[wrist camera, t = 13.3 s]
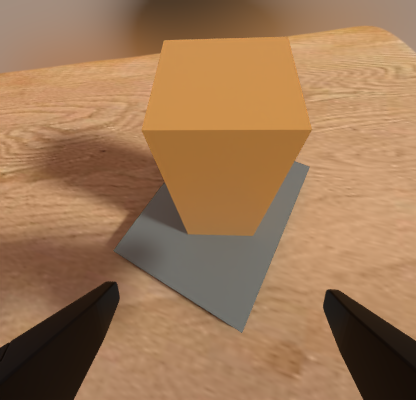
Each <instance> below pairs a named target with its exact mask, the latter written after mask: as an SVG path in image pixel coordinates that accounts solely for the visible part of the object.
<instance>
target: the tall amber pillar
mask: <svg viewBox="0 0 416 400" xmlns="http://www.w3.org/2000/svg"><path fill="white" fill-rule="evenodd" d="M311 130H312V128H311V124H310V121H309V117H308V113H307V109H306V105H305V101H304V97H303V93H302V90H301V86H300V82H299V78H298V74H297V70H296V66H295V62H294V59H293V55H292V51H291V47H290V43H289V39H288V37H266V38H265V37H263V38H231V39H194V40H164V43H163V47H162V51H161V55H160V59H159V63H158V67H157V71H156V75H155V79H154V83H153V87H152V91H151V95H150V99H149V103H148V107H147V111H146V115H145V119H144V123H143V127H142V132H143V135H144V137H145V139H146V141H147V143H148V146H149V148H150V150H151V152H152V155H153V157H154V159H155V161H156V164H157V166H158V168H159V170H160V173H161V175H162V177H163V179H164V181H165V184H166V186H167V188H168V190H169V193H170V195H171V197H172V199H173V202H174V204H175V206H176V208H177V211H178V213H179V215H180V217H181V219H182V222H183V224H184V226H185V228H186V231H187V233H188V234H195V235H235V236H253V235H254V233H255V232H256V230H257V228H258V226H259V224H260V223H261V221H262V219H263V217H264V215H265V214H266V212H267V210H268V208H269V206H270V204H271V203H272V201H273V199H274V197H275V195H276V194H277V192H278V190H279V188H280V186H281V185H282V183H283V181H284V179H285V177H286V176H287V174H288V172H289V170H290V168H291V167H292V165H293V163H294V161H295V159H296V157H297V156H298V154H299V152H300V150H301V148H302V147H303V145H304V143H305V141H306V139H307V138H308V136H309V134H310V132H311Z"/></svg>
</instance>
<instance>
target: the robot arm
mask: <svg viewBox="0 0 416 400" xmlns="http://www.w3.org/2000/svg"><path fill="white" fill-rule="evenodd" d="M118 303H119V291H118V285H117V283H116V282H111V281H108V282H105V283H103V284H102V285H100V286H99V287H97V288H95V289H94V290H92V291H91V292H89V293H87V294H86V295H84V296H83V297H81V298H79V299H78V300H76V301H75V302H73V303H71V304H70V305H68V306H66V307H65V308H63V309H62V310H60V311H58V312H57V313H55V314H54V315H52V316H50V317H49V318H47V319H46V320H44V321H42V322H41V323H39V324H38V325H36V326H34V327H33V328H31V329H30V330H28V331H26V332H25V333H23V334H22V335H20V336H18V337H17V338H15V339H13V340H12V341H11V342H10V343H7V344H5V345H4V346H2V347H1V348H0V400H74V398H75V396H76V394H77V392H78V390H79V388H80V386H81V384H82V382H83V380H84V378H85V376H86V374H87V372H88V370H89V368H90V366H91V364H92V362H93V360H94V358H95V356H96V354H97V352H98V350H99V348H100V346H101V344H102V342H103V340H104V338H105V336H106V333H107V331H108V328H109V326H110V323H111V321H112V318H113V316H114V313H115V310H116V308H117V305H118ZM323 309H324V312H325V315H326V317H327V320H328V323H329V325H330V328H331V330H332V333H333V336H334V338H335V341H336V343H337V346H338V348H339V351H340V353H341V355H342V357H343V359H344V361H345V363H346V365H347V367H348V369H349V371H350V373H351V376H352V378H353V380H354V382H355V384H356V386H357V388H358V390H359V392H360V394H361V396H362V398H363V400H416V341H415V340H414V339H412V338H411V337H409V336H408V335H406V334H405V333H403V332H402V331H400V330H399V329H397V328H396V327H394V326H392V325H391V324H389V323H388V322H386V321H385V320H383V319H382V318H380V317H379V316H377V315H376V314H374V313H373V312H371V311H370V310H368V309H367V308H365V307H364V306H362V305H361V304H359V303H358V302H356V301H354V300H353V299H351V298H350V297H348V296H347V295H345V294H344V293H342V292H341V291H339V290H335V289H328V290H327V291H326V294H325V299H324V303H323Z"/></svg>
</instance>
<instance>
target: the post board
mask: <svg viewBox="0 0 416 400" xmlns="http://www.w3.org/2000/svg"><path fill="white" fill-rule="evenodd" d="M308 170H309V166H306V165H303V164H301V163H298V162H295V161H294V163H293V165H292V167H291V168H290V170H289V172H288V174H287V176H286V177H285V179H284V181H283V183H282V185H281V186H280V188H279V190H278V192H277V194H276V195H275V197H274V199H273V201H272V203H271V204H270V206H269V208H268V210H267V212H266V214H265V215H264V217H263V219H262V221H261V223H260V224H259V226H258V228H257V230H256V232H255V233H254V235H253V236H235V235H195V234H188V233H187V231H186V228H185V226H184V224H183V222H182V219H181V217H180V215H179V213H178V211H177V208H176V206H175V204H174V202H173V199H172V197H171V195H170V193H169V190H168V188H167V186H166V184H165V182H164V183H163V185H162V186H161V187H160V189H159V190H158V191H157V193H156V194H155V195H154V197H153V198H152V200H151V201H150V202H149V204H148V205H147V206H146V208H145V209H144V210H143V212H142V213H141V214H140V216H139V217H138V218H137V220H136V221H135V222H134V224H133V225H132V226H131V228H130V229H129V230H128V232H127V233H126V234H125V236H124V237H123V238H122V240H121V241H120V242H119V244H118V245H117V246H116V248H115V249H114V250H113V251H114V252H116V253H117V254H119V255H121V256H122V257H124V258H125V259H127V260H128V261H130V262H132V263H133V264H135V265H136V266H138V267H139V268H141V269H143V270H144V271H146V272H147V273H149V274H150V275H152V276H154V277H155V278H157V279H158V280H160V281H161V282H163V283H165V284H166V285H168V286H169V287H171V288H172V289H174V290H176V291H177V292H179V293H180V294H182V295H183V296H185V297H186V298H188V299H190V300H191V301H193V302H194V303H196V304H197V305H199V306H201V307H202V308H204V309H205V310H207V311H208V312H210V313H212V314H213V315H215V316H216V317H218V318H219V319H221V320H223V321H224V322H226V323H227V324H229V325H230V326H232V327H234V328H235V329H237V330H238V331H240V332H241V333H242V332H243V329H244V327H245V324H246V322H247V319H248V317H249V314H250V312H251V310H252V307H253V305H254V302H255V300H256V297H257V295H258V292H259V290H260V287H261V285H262V283H263V280H264V278H265V275H266V273H267V270H268V268H269V265H270V263H271V261H272V258H273V256H274V253H275V251H276V248H277V246H278V243H279V241H280V238H281V236H282V234H283V231H284V229H285V226H286V224H287V221H288V219H289V216H290V214H291V212H292V209H293V207H294V204H295V202H296V199H297V197H298V194H299V192H300V189H301V187H302V185H303V182H304V180H305V177H306V175H307V172H308Z"/></svg>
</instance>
